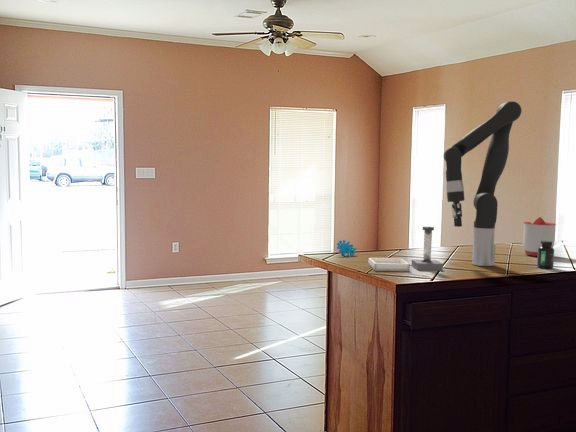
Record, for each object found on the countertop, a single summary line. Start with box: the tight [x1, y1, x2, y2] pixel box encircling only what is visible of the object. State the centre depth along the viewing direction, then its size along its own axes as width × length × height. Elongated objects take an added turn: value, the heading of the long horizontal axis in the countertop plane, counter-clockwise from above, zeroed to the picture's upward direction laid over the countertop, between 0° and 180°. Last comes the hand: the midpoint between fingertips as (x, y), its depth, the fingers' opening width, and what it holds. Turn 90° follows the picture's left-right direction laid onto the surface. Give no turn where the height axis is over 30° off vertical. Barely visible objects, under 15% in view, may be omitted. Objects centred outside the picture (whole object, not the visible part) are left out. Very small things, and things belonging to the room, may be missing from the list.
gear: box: [336, 239, 358, 258], centre depth 305 cm, size 11×6×10 cm
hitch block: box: [410, 258, 444, 272], centre depth 271 cm, size 11×11×3 cm
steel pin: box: [422, 226, 435, 262], centre depth 270 cm, size 5×5×18 cm
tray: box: [367, 257, 411, 272], centre depth 270 cm, size 15×17×3 cm
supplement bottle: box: [536, 241, 555, 270], centre depth 279 cm, size 7×7×12 cm
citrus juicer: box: [522, 216, 557, 257], centre depth 319 cm, size 16×17×20 cm
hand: (458, 226), depth 280 cm, fingers open, 8 cm apart
